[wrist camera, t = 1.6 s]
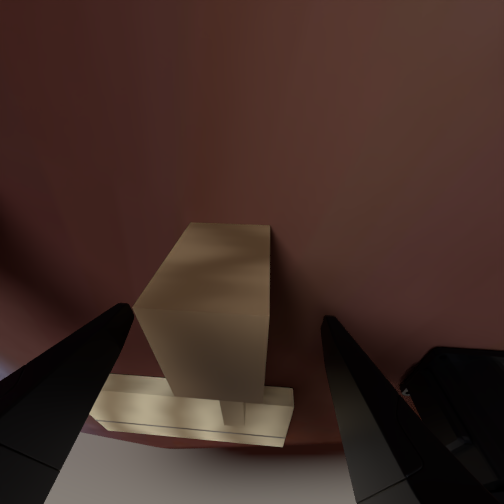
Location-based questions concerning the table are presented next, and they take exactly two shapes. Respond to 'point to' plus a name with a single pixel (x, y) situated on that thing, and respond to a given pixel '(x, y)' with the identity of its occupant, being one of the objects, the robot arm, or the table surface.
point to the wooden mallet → (212, 315)
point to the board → (188, 412)
